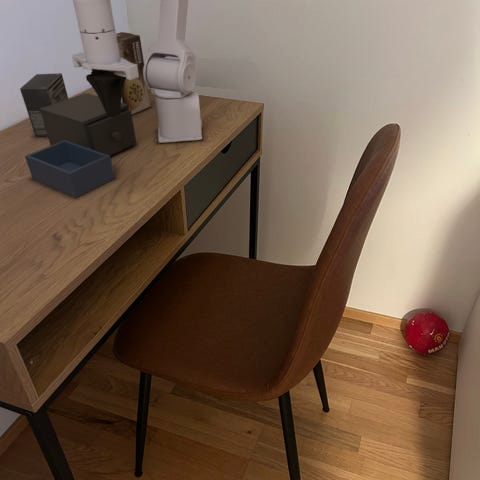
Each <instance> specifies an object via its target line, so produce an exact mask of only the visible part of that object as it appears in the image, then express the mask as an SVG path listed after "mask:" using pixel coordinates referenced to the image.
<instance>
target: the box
mask: <svg viewBox="0 0 480 480" xmlns="http://www.w3.org/2000/svg"><path fill="white" fill-rule="evenodd" d="M24 158H25V161H26V163H27V166H28V170H29V173H30V175H31V176H30V177H31V178H32V180H34V181H37V182H39V183H41V184H43V185H46V186H48V187H50V188H53V189H55V190H57V191H59V192H62V193H64V194H67V195H69V196H71V197H74V198H76V199H77V198H79V197H81V196H83V195H85V194H87V193H89V192H91V191H94V190H95V189H97V188H99V187H101V186H103V185H105V184H107V183H109V182H112V181H113V180H115V174H114V173H115V172H114V168H113V163H112V160H111V156H109V155H106V154H104V153H101V152H98V151H95V150H92V149H89V148H86V147H84V146H81V145H78V144H75V143H72V142H69V141H67V140H64V141H61V142H59V143H56V144H54V145H49V146H46V147H44V148H41V149H39V150H36V151H34V152H32V153H29V154H26V155H24Z"/></svg>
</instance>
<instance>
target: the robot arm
mask: <svg viewBox="0 0 480 480" xmlns="http://www.w3.org/2000/svg"><path fill="white" fill-rule="evenodd" d="M72 2H73V7H74V12H75V16H76V21H77V25H78V30H79V35H80V39H81V44H82V48H83V52H77V53H74V54H71V58H72V63H73V66H74V68H82V69H84V70H87V71H91V72H90V73H89V74H86V75H85V79H86V81H87V82H88V84H89V85H90V86H91V87H92V89H93V90H94V92H95V94H96V96H98V97H99V99H100V101H101V103H102V105H103V107H104V110H105V112H106V114H107V116H109V117H115V116H118V115H120V110H121V96H122V90H123V86H124V83H125V80H126V79H128V80H132V79H135V78H138V77H139V74H138V68H137V65H136V64H133V63H130V62H128V61H127V60H125V59H123V58H121V57H120V54H119V49H118V43H117V37H116V34H117V32H116V31H117V30H116V26H115V20H114V14H113V9H112V3H111V0H72ZM159 7H160V8H159V20H158V34H157V39H155V40H154V41H153V42H152V43H151V44H149V46H148V47H147V51H146V58H145V60H144V67H143V77H144V81H145V83H146V85H147V86H148V89H150V91H151V94H152V95H154V99H155V107H156V115H157V121H158V128H157V136H158V143H159V144H161V143H176V142H178V143H179V142H188V141H189V142H191V141H192V142H193V141H201V140H203V135H202V134H203V133H202V128H203V119H202V118H201V107H200V98H199V97H200V95H199V92H198V91H194V88H195V86H196V84H197V70H196V69H197V68H196V55H195V53H194V51H192V49H190V47H189V46H188V45H187V44H186V42H185V41H186V31H187V18H188V9H189V0H160V6H159ZM171 57H172V58H171ZM176 58H177V59H176Z"/></svg>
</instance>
